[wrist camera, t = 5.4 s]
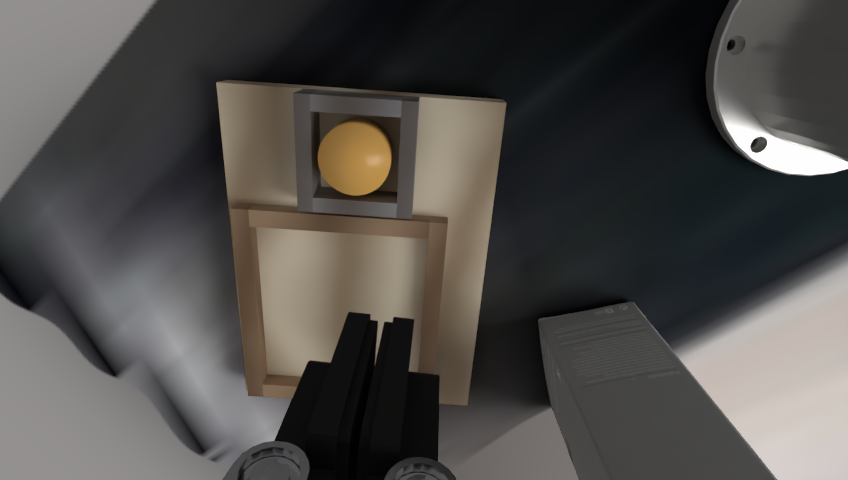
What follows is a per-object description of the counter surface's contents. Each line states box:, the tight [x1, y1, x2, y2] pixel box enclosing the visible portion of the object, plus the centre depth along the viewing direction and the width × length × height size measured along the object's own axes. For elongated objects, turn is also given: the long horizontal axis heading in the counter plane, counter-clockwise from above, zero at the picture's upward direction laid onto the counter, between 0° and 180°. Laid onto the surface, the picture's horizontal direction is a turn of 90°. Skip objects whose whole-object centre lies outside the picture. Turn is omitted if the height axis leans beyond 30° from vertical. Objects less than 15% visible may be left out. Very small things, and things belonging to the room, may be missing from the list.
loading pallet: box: [216, 80, 506, 406], centre depth 29 cm, size 15×20×4 cm
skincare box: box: [538, 302, 777, 480], centre depth 26 cm, size 8×7×16 cm
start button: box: [318, 117, 393, 196], centre depth 25 cm, size 4×4×2 cm
